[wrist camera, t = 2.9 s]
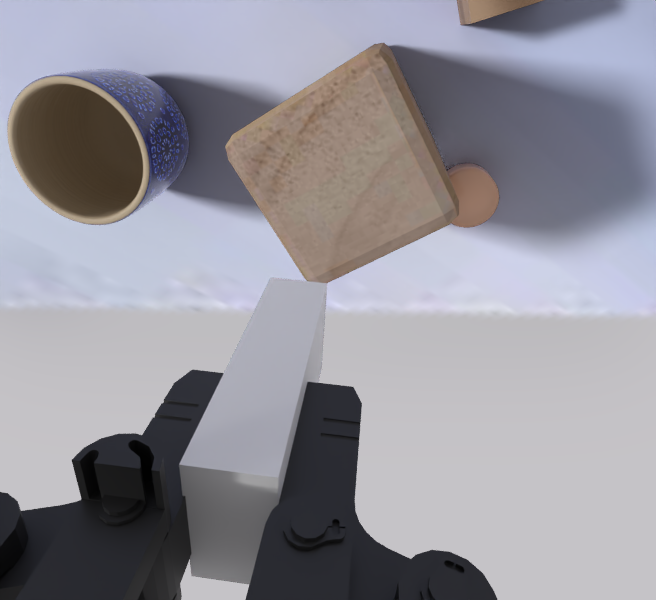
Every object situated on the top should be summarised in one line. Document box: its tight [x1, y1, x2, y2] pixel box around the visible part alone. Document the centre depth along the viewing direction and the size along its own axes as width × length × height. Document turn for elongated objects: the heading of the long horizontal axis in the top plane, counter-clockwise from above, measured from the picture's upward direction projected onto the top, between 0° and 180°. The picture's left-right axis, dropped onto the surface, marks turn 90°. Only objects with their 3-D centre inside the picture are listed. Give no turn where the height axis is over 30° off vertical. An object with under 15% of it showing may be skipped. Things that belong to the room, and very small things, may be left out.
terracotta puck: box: [447, 163, 499, 227], centre depth 44 cm, size 5×5×3 cm
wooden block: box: [225, 43, 459, 283], centre depth 35 cm, size 10×10×20 cm
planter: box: [7, 69, 189, 225], centre depth 41 cm, size 11×11×11 cm
